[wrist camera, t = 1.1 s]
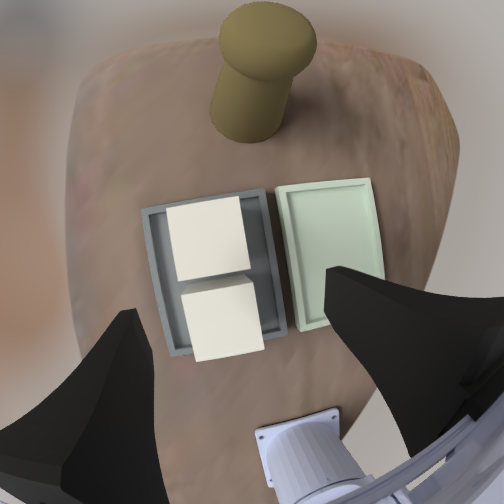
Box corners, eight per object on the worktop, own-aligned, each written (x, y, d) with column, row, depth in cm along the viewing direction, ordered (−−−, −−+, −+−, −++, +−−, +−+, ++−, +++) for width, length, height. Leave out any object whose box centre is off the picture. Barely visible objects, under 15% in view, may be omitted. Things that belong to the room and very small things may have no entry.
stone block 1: (242, 263, 20) (250, 268, 16) (185, 273, 20) (178, 281, 15) (233, 206, 20) (238, 195, 16) (176, 216, 20) (165, 208, 15)
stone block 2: (253, 328, 21) (264, 349, 16) (199, 338, 20) (196, 361, 16) (244, 274, 20) (253, 282, 16) (187, 284, 20) (180, 295, 15)
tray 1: (284, 330, 22) (288, 335, 20) (172, 351, 20) (170, 356, 19) (261, 191, 21) (264, 188, 20) (144, 210, 20) (140, 209, 19)
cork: (277, 81, 21) (318, -5, 10) (287, 142, 21) (346, 68, 10) (208, 83, 20) (210, -13, 9) (211, 146, 20) (214, 61, 9)
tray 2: (379, 304, 23) (386, 307, 22) (296, 327, 22) (300, 332, 20) (362, 180, 22) (369, 177, 21) (274, 189, 21) (277, 186, 20)
